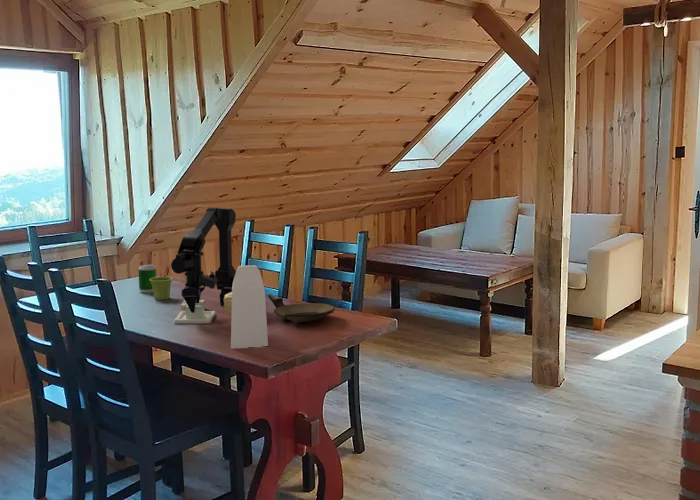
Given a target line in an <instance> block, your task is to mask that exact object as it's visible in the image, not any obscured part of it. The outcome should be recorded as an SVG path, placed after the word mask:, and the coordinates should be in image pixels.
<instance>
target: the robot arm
mask: <svg viewBox="0 0 700 500" xmlns="http://www.w3.org/2000/svg"><path fill="white" fill-rule="evenodd" d="M236 217H237V215H236V212H235V210H234V209H233V208H226V207H225V208H222V207H208V208H207V209H206V211H205V213H204V215H203V216H202V218H200V220H199V222H198V223H197V225H196V226H195V227H194V229H193V230H190V231H188V232H187V233H185V235H184V236H183V237H182V239H181V241H180V245H179V247H178V249H177V254H175V258H174V259H173V260H172V261H171V264H170V266H171V269H172V271H173V272H174V273H175V274H177V275H178V274H179V275H180V274H183V273H184V276H185V284H184V285H185V286H184V287H183V289H181V296H182V298H183V300H185V301H186V303H187V305H188V307H189V309H190V311H191V313H194V312H195V306H196V303H199V301H200V300H201V296H202V292H204V290H205V289H206V287H208V288H209V289H212V290H214V289H215V288H216V289H217V290H218V291H219V290H220V293H219V304H220V306H221V307H224V297H225V295H226V294H228V293H230V292H232V285H233V281H234V277H235V274H236V271H237V270H236V269H235V267H234V266H233V254H232V253H233V249H232V247H233V246H232V229H233V228H234V226H235V225H236ZM214 225H215V227H216V228H217V231H218V247H219V251H218V252H219V267H218V268H217V270H215V271H214V273H212V272H211V273H210V274H209V275H208V274H204V271H203V270H202V256H204V254H205V253H204V252H202V250H203V248H204V246H205V244H206V237H207V235H208V234H209V232H210V230H211V229H212V228H213V226H214Z"/></svg>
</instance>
